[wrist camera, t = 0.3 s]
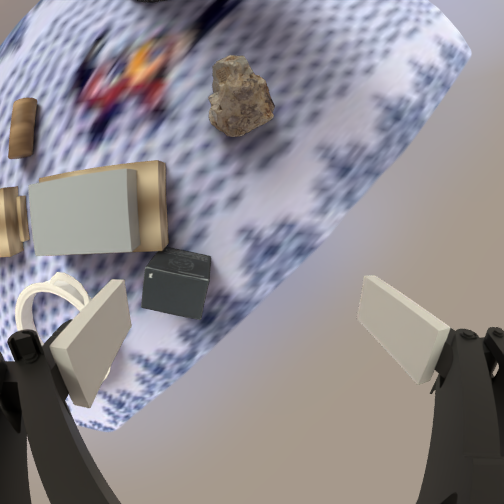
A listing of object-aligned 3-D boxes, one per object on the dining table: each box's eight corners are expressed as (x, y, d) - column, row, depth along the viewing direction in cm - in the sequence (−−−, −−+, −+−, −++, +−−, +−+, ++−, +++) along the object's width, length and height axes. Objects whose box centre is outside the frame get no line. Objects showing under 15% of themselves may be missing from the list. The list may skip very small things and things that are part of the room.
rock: (216, 141, 40) (260, 154, 34) (166, 94, 30) (206, 94, 24) (249, 100, 39) (296, 107, 34) (208, 51, 30) (255, 44, 24)
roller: (24, 108, 30) (8, 104, 25) (42, 101, 31) (26, 95, 26) (20, 159, 33) (3, 158, 28) (37, 153, 33) (20, 152, 28)
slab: (43, 183, 30) (28, 185, 26) (136, 169, 32) (126, 168, 28) (49, 249, 33) (35, 256, 29) (140, 244, 34) (131, 251, 31)
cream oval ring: (102, 398, 46) (96, 412, 42) (23, 347, 42) (13, 358, 37) (140, 300, 42) (132, 313, 37) (40, 237, 37) (25, 243, 32)
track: (-25, 198, 32) (-57, 204, 22) (165, 163, 37) (147, 156, 27) (-19, 253, 35) (-49, 267, 25) (168, 242, 40) (152, 262, 30)
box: (157, 279, 41) (139, 308, 31) (162, 244, 40) (144, 265, 30) (205, 289, 42) (201, 321, 32) (212, 255, 41) (209, 279, 31)
